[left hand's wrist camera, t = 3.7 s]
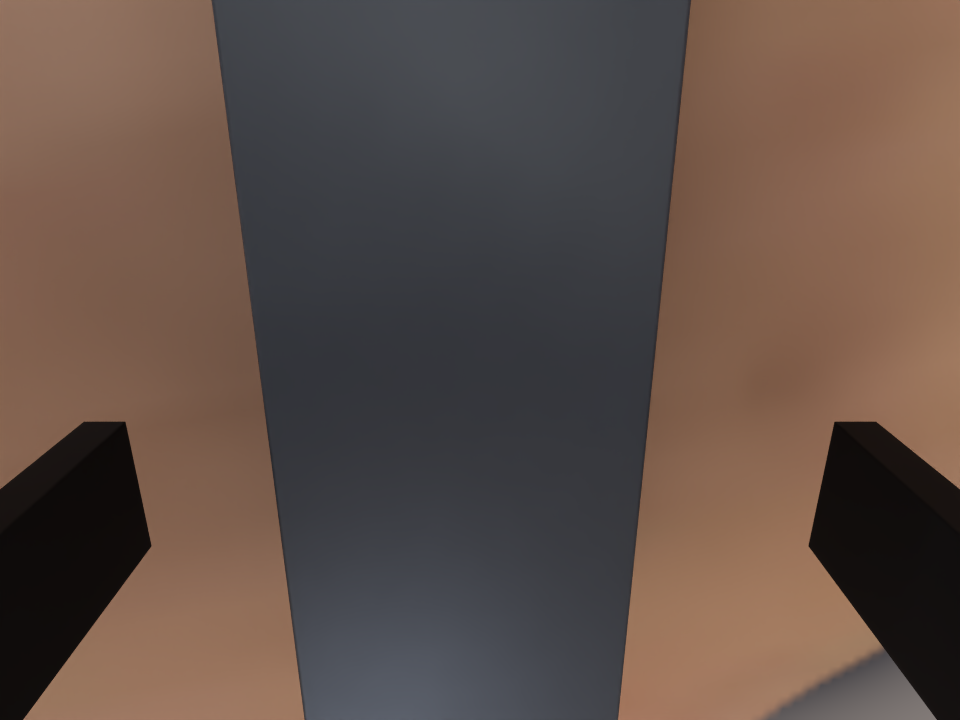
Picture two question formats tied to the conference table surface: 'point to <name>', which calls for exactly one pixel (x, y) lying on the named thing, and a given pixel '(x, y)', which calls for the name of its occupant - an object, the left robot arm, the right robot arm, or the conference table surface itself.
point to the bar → (455, 334)
